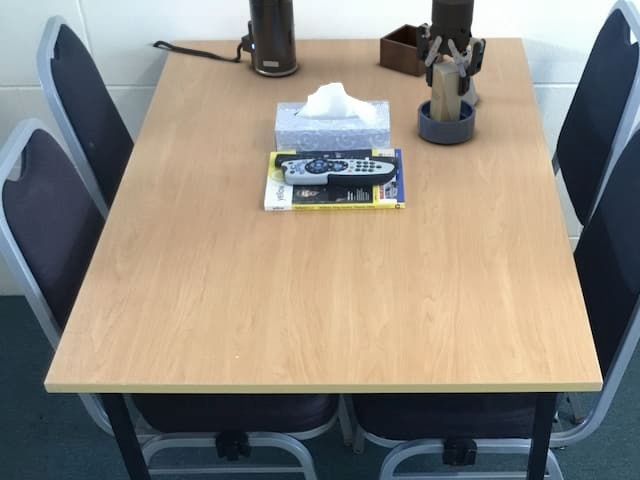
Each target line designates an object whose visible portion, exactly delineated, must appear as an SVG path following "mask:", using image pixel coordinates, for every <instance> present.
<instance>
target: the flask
mask: <svg viewBox="0 0 640 480" xmlns="http://www.w3.org/2000/svg"><path fill="white" fill-rule="evenodd" d="M467 48H468V51H469V54H470V58H471V57H472V52H471V48H470V47H467ZM460 57H462V54H460ZM461 100H464V101H467V102H469V103H470V104H472V105H473V106H474V107H475V104H476V103H477V102H478V101H479V97H478V94H477V90H476V86H475V83H474V78H473V76H471V77H470V88H469V91H468V92H467V93H466V94H465V95H464V96H462V97H461Z"/></svg>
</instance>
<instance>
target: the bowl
mask: <svg viewBox="0 0 640 480" xmlns="http://www.w3.org/2000/svg"><path fill="white" fill-rule="evenodd" d="M430 105H431V99H428V100H425V101H423V102H422V103H420V104H419V106H418V108H417V122H416V124H417V125H416V126H417V127H416V130H417V132H418V135H419V136H420V137H422V138H423V139H424V140H427V141H430V142H433V143H436V144H444V145H445V144H446V145H449V144H459V143H461V142H464V141H468V140H469V139H470V138H471V137H473V135H474V133H475V129H476V128H475V127H476V117H477V116H476V115H477V110H476V107H475V105H474V106H473V105H472V104H470V103H469V102H467V101H464V100H461V106H460V116H459V121H457V122H441V121H436V120H432V119H429V118H430Z"/></svg>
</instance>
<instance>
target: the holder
mask: <svg viewBox="0 0 640 480" xmlns="http://www.w3.org/2000/svg"><path fill="white" fill-rule="evenodd" d="M417 27H418V26H417V25H412V24H408V23H405V24H403V25H401V26H400V27H398V28H396V29H394V30H393V31H391V32H389V33H388V34H386V35H384V36H382V37H380V38H379V66H382V67H385V68H389V69H392V70H396V71H398V72H401V73H405V74H409V75H412V76H416V77H420V76H421V75H424V73H425V74H426V65H425V63H424V62H423V61H419V60H418V58H417V37H416V28H417ZM433 44H434V42H433V39H432V37H431V35H430V36H429V52H430V50H431V48H432V46H433ZM444 59H445V55H442V54H441V55H440V56H439V58H438V60H437V62H436V63H441V62H444Z"/></svg>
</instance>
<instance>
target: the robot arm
mask: <svg viewBox="0 0 640 480" xmlns="http://www.w3.org/2000/svg"><path fill="white" fill-rule="evenodd" d="M248 5H249V6H248V7H249V15H250V16H249V17H250V20H248V21H247V32H248V33H247V34H245V35H244V36H241V38H240V39H241V40H240V41H241V42H240V43H239V44H238V45H237V47H236V57H235V58H233V59H231V58H230V59H228V58H224V57H223V56H220V55H218V54H216V53H213V52H209V51H204V50H199V49H192V48H187V47H181V46H177V45H173V44H171V43H168V42H167V41H164V40H156V42H154V44H153V45H152V47H153V48H158V46H164V47H166V48H168V49H171V50H173V51H176V52H183V53H188V54H194V55H200V56H206V57H210V58H213V59H214V60H217V61H223V62H230V63H238V62H239V61H240V60H241V58H242V52H246V53H249V54H250V59H251V60H250V61H251V68H252V69H254V70H255V71H256V73H258V74H259V75H262V76H265V77H284V76H288V75H291V74H293V73H295V72H296V71H297V69H298V61H297V60H298V59H297V46H296V30H295V15H294V13H295V12H294V0H248ZM474 9H475V0H431V16H430V20H431V24H430V25H429V24H428V22H423V23H422V24H420V25H418V26H416V27H417V28H416V37H417V58H418V60H419V61H423V62H424V63H425V65H426V72H425V82H426V83H427V85H426V86H427V87H428V88H432V77H433V64H435V63H436V62H437V60H438V58H439V56H440V55H441V54H442V55H444V56H448V57H449V58H451V59H453V62H455V64H456V65H457V66H458V69H459V72H460V75H461V76H459V87H458V96H461V97H462V96H464V95H465V94H466V93H467V92H468V91H469V88H470V77H471V76H472V77H473V76H475V75H477V74H478V73H480V72H481V70H482V66H483V60H484V55H485V50H486V46H487V40H486V39H485V38H481V39H478V38H476V37H473V34H472V33H473V32H472V26H473V20H474V11H475V10H474ZM430 35H431V37H432V39H433V42H434V44H433V46H432V48H431V50H430V52H429V36H430ZM469 46H470V49H471V52H472V54H471V57H470V54H469V51H468V48H469ZM241 49H242V52H241ZM460 54H462V57H460Z"/></svg>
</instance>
